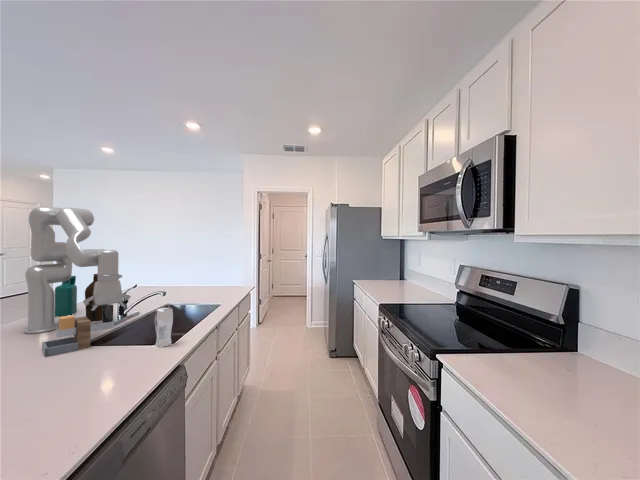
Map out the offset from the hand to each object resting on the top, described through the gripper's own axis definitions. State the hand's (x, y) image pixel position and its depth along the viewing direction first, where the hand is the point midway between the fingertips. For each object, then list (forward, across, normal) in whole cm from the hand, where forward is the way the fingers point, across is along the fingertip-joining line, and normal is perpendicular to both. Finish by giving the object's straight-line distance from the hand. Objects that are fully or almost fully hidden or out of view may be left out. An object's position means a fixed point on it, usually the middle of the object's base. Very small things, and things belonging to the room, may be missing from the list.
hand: (107, 317), depth 135 cm
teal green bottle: (+10, +6, -69) cm, 70 cm away
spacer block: (+2, +14, 0) cm, 14 cm away
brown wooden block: (+10, +9, 0) cm, 14 cm away
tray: (+10, +16, 0) cm, 19 cm away
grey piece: (+5, +7, 0) cm, 9 cm away
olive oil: (+10, -4, -45) cm, 46 cm away
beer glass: (+10, -16, +22) cm, 29 cm away
